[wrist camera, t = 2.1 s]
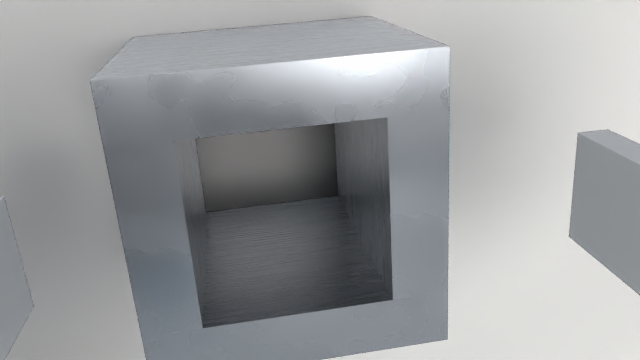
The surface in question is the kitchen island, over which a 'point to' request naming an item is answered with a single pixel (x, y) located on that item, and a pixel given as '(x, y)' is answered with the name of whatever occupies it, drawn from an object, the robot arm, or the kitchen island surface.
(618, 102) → the kitchen island surface
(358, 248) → the hollow square tube
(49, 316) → the kitchen island surface
